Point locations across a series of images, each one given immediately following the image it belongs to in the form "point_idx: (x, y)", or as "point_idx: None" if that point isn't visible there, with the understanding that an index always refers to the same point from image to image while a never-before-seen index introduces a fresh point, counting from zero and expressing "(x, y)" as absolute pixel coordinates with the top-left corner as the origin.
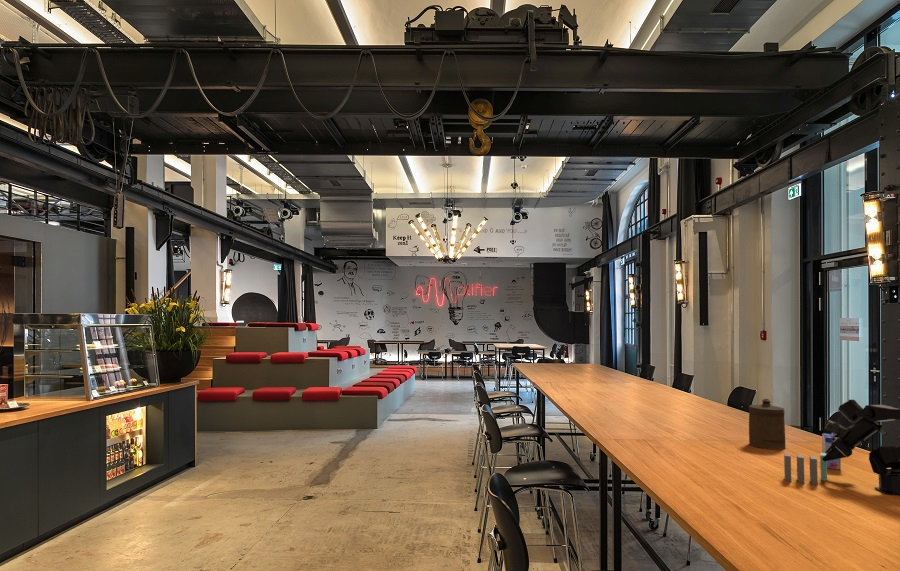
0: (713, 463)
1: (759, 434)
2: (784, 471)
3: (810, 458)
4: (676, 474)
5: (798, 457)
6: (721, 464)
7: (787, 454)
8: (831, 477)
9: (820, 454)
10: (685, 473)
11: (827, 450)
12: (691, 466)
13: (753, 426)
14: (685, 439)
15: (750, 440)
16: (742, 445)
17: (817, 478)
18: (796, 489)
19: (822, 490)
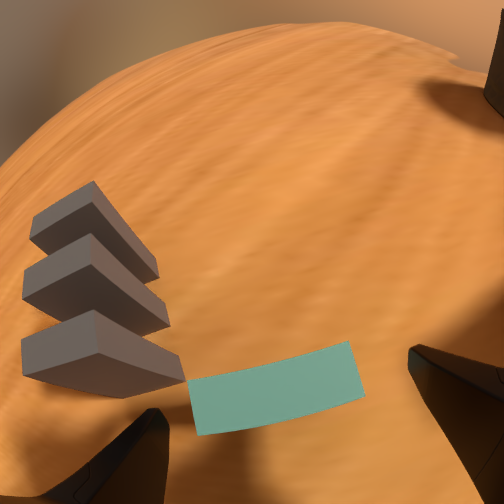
0: (198, 94)
1: (498, 73)
2: (142, 243)
3: (43, 333)
4: (59, 134)
5: (25, 273)
6: (202, 102)
7: (64, 207)
8: (362, 410)
9: (230, 374)
10: (71, 132)
11: (442, 373)
12: (133, 102)
13: (495, 51)
14: (380, 34)
15: (486, 81)
16: (464, 81)
17: (105, 395)
18: None
19: (60, 418)
